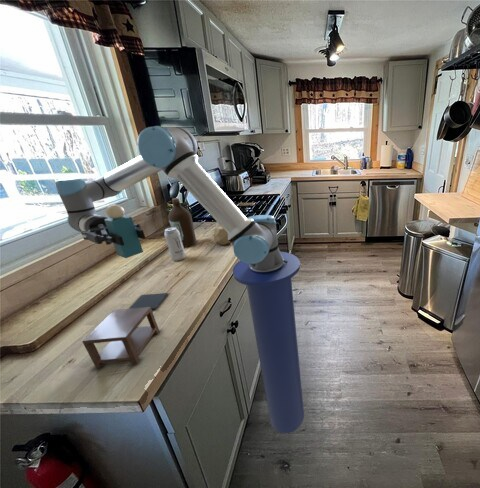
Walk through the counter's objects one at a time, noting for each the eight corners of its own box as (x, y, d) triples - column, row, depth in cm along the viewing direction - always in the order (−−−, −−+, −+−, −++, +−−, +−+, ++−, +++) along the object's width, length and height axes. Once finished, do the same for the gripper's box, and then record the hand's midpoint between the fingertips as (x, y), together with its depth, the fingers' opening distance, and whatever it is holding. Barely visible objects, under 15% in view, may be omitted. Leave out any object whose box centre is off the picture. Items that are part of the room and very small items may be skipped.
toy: (135, 249, 87) (118, 201, 80) (143, 252, 84) (127, 203, 78) (117, 255, 83) (98, 205, 76) (125, 258, 80) (106, 207, 74)
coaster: (167, 294, 96) (167, 292, 96) (155, 309, 88) (155, 308, 87) (142, 296, 95) (141, 295, 95) (127, 311, 87) (127, 310, 87)
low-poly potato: (227, 249, 133) (243, 234, 137) (211, 234, 128) (228, 218, 133) (219, 248, 145) (234, 234, 149) (204, 234, 140) (220, 220, 144)
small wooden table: (159, 331, 78) (150, 306, 74) (137, 363, 67) (125, 337, 63) (124, 334, 77) (113, 310, 73) (96, 368, 66) (81, 341, 62)
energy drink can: (180, 261, 121) (171, 231, 115) (169, 260, 122) (160, 231, 116) (188, 256, 126) (181, 227, 120) (178, 255, 127) (169, 226, 121)
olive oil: (187, 239, 146) (176, 195, 136) (202, 241, 143) (191, 196, 133) (171, 246, 137) (158, 200, 127) (186, 249, 134) (173, 201, 124)
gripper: (130, 228, 98) (165, 239, 87) (68, 245, 84) (101, 260, 73) (124, 209, 95) (159, 217, 84) (58, 223, 81) (91, 236, 70)
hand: (132, 237), depth 78 cm, fingers closed on toy, 5 cm apart
